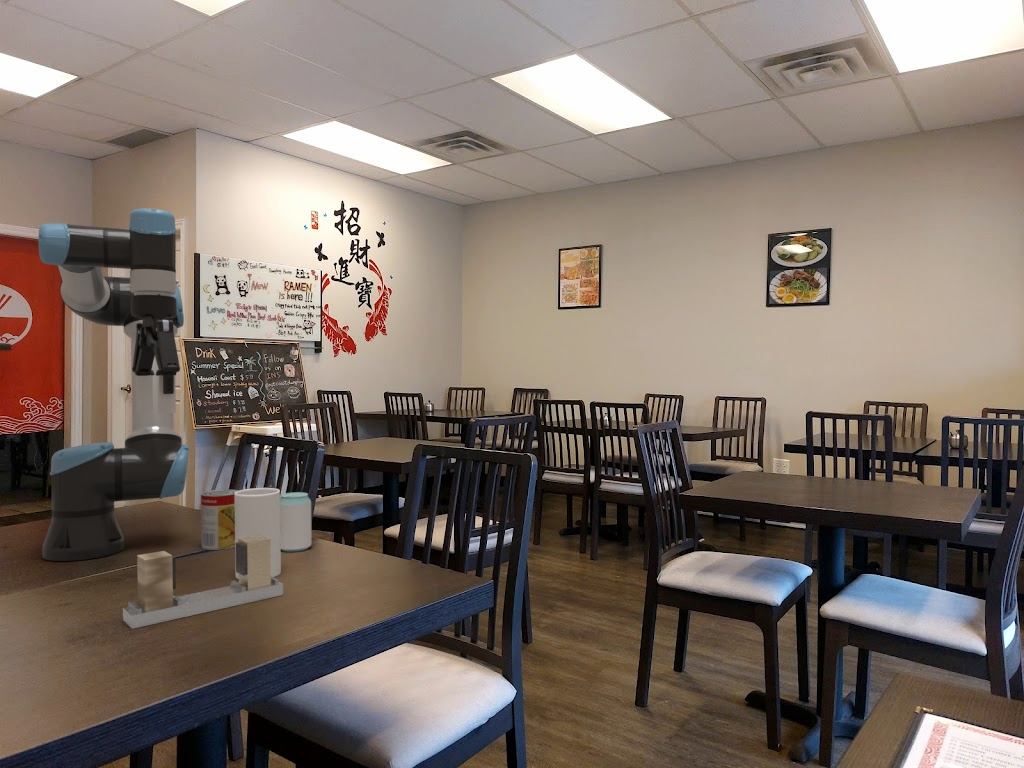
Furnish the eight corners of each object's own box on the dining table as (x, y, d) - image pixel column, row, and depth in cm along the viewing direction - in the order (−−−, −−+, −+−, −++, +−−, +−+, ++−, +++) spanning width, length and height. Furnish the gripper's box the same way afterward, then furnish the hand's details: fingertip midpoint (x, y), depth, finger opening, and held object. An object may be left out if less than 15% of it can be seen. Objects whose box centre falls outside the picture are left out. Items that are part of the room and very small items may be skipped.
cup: (266, 581, 132) (265, 495, 132) (226, 579, 134) (225, 494, 134) (288, 569, 140) (287, 488, 140) (250, 567, 142) (250, 487, 142)
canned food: (246, 542, 163) (246, 490, 163) (225, 550, 155) (224, 495, 155) (216, 540, 165) (215, 488, 164) (193, 549, 157) (193, 494, 157)
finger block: (145, 611, 110) (144, 560, 110) (138, 605, 113) (137, 555, 113) (177, 605, 113) (176, 554, 113) (168, 599, 116) (168, 550, 116)
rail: (123, 620, 112) (122, 556, 112) (271, 588, 128) (270, 533, 128) (131, 628, 108) (130, 563, 108) (283, 594, 124) (282, 537, 124)
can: (306, 552, 153) (305, 497, 153) (273, 552, 153) (272, 497, 153) (315, 544, 160) (314, 491, 160) (284, 544, 160) (283, 491, 160)
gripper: (198, 291, 124) (200, 413, 124) (155, 301, 142) (157, 408, 143) (151, 287, 119) (153, 415, 119) (113, 299, 137) (115, 409, 138)
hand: (155, 411), depth 131 cm, fingers open, 13 cm apart
